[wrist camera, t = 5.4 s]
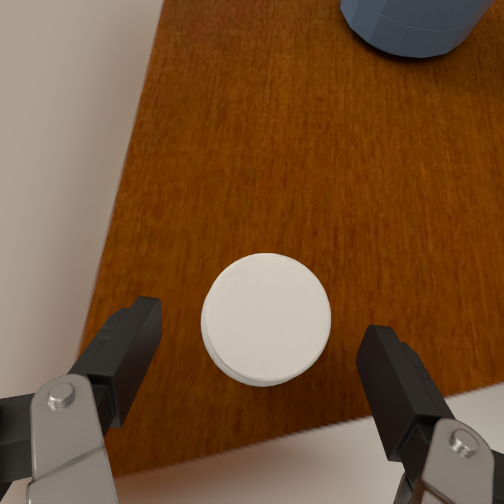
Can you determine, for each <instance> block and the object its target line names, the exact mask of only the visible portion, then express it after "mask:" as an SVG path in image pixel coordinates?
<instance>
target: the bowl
mask: <svg viewBox="0 0 504 504" xmlns="http://www.w3.org/2000/svg"><path fill="white" fill-rule="evenodd" d="M493 1H494V0H341V11H342V13H343V15H344V17H345V19H346V21H347V23H348V25H349V26H350V27H351V29H352V30H354V31H355V32H356V33H357V34H358V35H359V36H360V37H361V38H362V39H364V40H365V41H366V42H367V43H369V44H370V45H372V46H374V47H375V48H377V49H380V50H382V51H384V52H387V53H390V54H393V55H397V56H403V57H416V58H426V57H431V56H437V55H442V54H447V53H448V52H449V51H451V50H452V49H454V48H455V47H457V46H458V45H460V44H461V43H463V42H464V40H465V39H466V38H467V36H468V35H469V34H470V32H471V31H472V30H473V28H474V27H475V25H476V24H477V23H478V21H479V20H480V19H481V17H482V16H483V15H484V13H485V12H486V11H487V9H488V8H489V7H490V5H491V4H492V3H493Z"/></svg>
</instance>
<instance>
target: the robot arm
mask: <svg viewBox="0 0 504 504" xmlns="http://www.w3.org/2000/svg"><path fill="white" fill-rule="evenodd" d="M161 333H162V321H161V301H160V299H159V298H152V297H144V296H139V297H138V298H137V299H136V300H135V302H134V303H133V305H132V306H131V308H130V309H129V308H121V309H120V310H118V311H117V312H115V313H114V314H113V315H111V316H110V317H109V318H108V320H107V321H106V322H105V324H104V325H103V326H102V329H100V330H99V332H98V333H97V334H96V337H95V338H93V340H92V341H91V343H90V344H89V345H88V347H87V348H86V349H85V351H84V352H83V353H82V355H81V356H80V357H79V359H78V360H77V361H76V363H75V364H74V365H73V367H72V368H71V369H70V371H69V372H68V373H67V374H66V375H63V376H60V377H57V378H55V379H53V380H51V381H49V382H48V383H46V384H45V385H44V386H42V387H41V388H40V389H39V390H38V391H37V392H36V393H33V394H27V395H22V396H15V397H9V398H3V399H0V502H1V500H2V498H3V497H4V495H5V493H6V492H7V490H8V489H9V487H10V485H11V484H12V482H13V481H15V480H19V479H23V478H28V477H32V482H30V483H29V484H28V486H27V493H26V504H118V499H117V495H116V491H115V486H114V481H113V477H112V473H111V468H110V464H109V460H108V455H107V451H106V447H105V444H104V437H105V435H106V433H107V431H108V429H109V427H114V428H121V427H122V425H123V423H124V421H125V418H126V416H127V414H128V412H129V410H130V407H131V405H132V403H133V401H134V398H135V396H136V394H137V392H138V390H139V387H140V385H141V383H142V381H143V379H144V376H145V374H146V372H147V370H148V368H149V365H150V363H151V361H152V359H153V356H154V354H155V352H156V350H157V348H158V345H159V342H160V339H161ZM356 364H357V370H358V373H359V376H360V379H361V382H362V385H363V388H364V391H365V394H366V397H367V400H368V403H369V406H370V409H371V412H372V415H373V418H374V421H375V424H376V426H377V429H378V432H379V436H380V439H381V441H382V444H383V447H384V450H385V453H386V456H387V459H388V461H394V462H402V464H403V466H404V469H405V472H404V474H403V476H402V478H401V481H400V484H399V487H398V490H397V493H396V496H395V500H394V503H393V504H504V454H502V453H499V452H497V451H494V450H492V449H490V447H489V446H488V444H487V443H486V441H485V440H484V439H483V438H482V437H481V436H480V435H479V434H478V433H477V432H476V431H475V430H473V429H472V428H471V427H469V426H468V425H466V424H464V423H462V422H460V421H458V420H456V419H455V417H454V415H453V414H452V412H451V410H450V409H449V407H448V405H447V404H446V402H445V400H444V398H443V397H442V395H441V393H440V392H439V390H438V388H437V387H436V385H435V383H434V382H433V380H432V379H430V375H429V373H428V372H427V370H426V369H424V365H423V363H422V362H421V360H420V358H419V357H418V355H417V353H416V352H414V351H413V350H412V349H411V348H410V347H409V346H408V345H407V344H406V343H405V342H400V340H399V339H398V337H397V335H396V333H395V331H394V330H393V329H392V328H391V327H387V326H379V325H369V326H368V327H367V330H366V332H365V335H364V337H363V340H362V343H361V345H360V348H359V350H358V353H357V359H356Z"/></svg>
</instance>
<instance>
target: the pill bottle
mask: <svg viewBox="0 0 504 504" xmlns="http://www.w3.org/2000/svg"><path fill="white" fill-rule="evenodd" d="M330 328H331V311H330V305H329V301H328V298H327V295H326V293H325V290H324V288H323V287H322V285H321V283H320V282H319V280H318V279H317V278H316V277H315V275H314V274H313V273H312V272H311V271H310V270H309V269H307V268H306V267H305V266H304V265H302V264H301V263H299V262H297V261H296V260H294V259H291V258H289V257H286V256H283V255H279V254H272V253H262V254H254V255H250V256H247V257H244V258H242V259H240V260H238V261H236V262H234V263H233V264H231V265H230V266H229V267H227V268H226V269H225V270H224V271H223V272H222V273H221V274H220V275H219V276H218V278H217V279H216V281H215V282H214V284H213V286H212V287H211V289H210V291H209V293H208V295H207V297H206V299H205V302H204V305H203V309H202V315H201V331H202V337H203V341H204V344H205V347H206V349H207V351H208V353H209V355H210V357H211V358H212V360H213V361H214V362H215V364H216V365H217V366H218V367H219V368H220V369H221V370H222V371H223V372H224V373H226V374H227V375H228V376H230V377H231V378H233V379H235V380H237V381H239V382H241V383H244V384H247V385H252V386H263V387H265V386H274V385H277V384H281V383H284V382H286V381H288V380H290V379H292V378H294V377H296V376H298V375H300V374H301V373H303V372H304V371H306V370H307V369H308V368H309V367H310V366H311V365H313V363H314V362H315V361H316V360H317V359H318V357H319V356H320V354H321V353H322V351H323V349H324V347H325V345H326V343H327V340H328V337H329V333H330Z"/></svg>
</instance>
